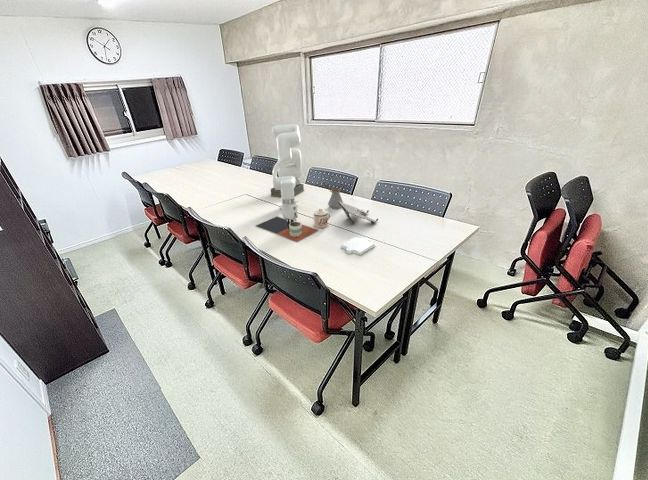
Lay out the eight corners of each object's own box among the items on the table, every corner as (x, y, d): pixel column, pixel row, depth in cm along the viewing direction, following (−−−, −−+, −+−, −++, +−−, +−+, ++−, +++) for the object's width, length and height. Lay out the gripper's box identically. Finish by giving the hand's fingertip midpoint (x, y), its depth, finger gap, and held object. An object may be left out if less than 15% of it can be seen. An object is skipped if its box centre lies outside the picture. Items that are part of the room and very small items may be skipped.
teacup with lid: (319, 229, 181) (318, 212, 175) (311, 225, 188) (310, 208, 182) (334, 224, 186) (334, 207, 180) (325, 220, 193) (325, 204, 187)
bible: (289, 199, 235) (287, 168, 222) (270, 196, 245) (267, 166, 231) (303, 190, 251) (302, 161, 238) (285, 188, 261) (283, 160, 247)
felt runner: (276, 216, 205) (276, 216, 204) (318, 230, 181) (318, 230, 180) (255, 226, 193) (255, 225, 193) (296, 241, 169) (296, 241, 169)
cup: (297, 230, 182) (297, 220, 179) (304, 234, 176) (304, 224, 173) (287, 233, 179) (286, 223, 176) (293, 237, 173) (292, 228, 170)
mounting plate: (357, 257, 149) (357, 254, 148) (338, 249, 158) (338, 246, 157) (377, 244, 159) (377, 241, 158) (358, 238, 168) (358, 235, 167)
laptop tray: (373, 233, 184) (380, 221, 180) (343, 223, 177) (350, 209, 173) (360, 220, 203) (366, 208, 199) (333, 210, 196) (339, 197, 192)
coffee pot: (346, 207, 210) (347, 187, 202) (334, 211, 206) (334, 191, 198) (329, 200, 226) (329, 181, 218) (317, 203, 222) (317, 184, 214)
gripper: (301, 201, 171) (303, 228, 181) (284, 196, 180) (286, 223, 190) (293, 204, 167) (294, 233, 176) (275, 200, 176) (278, 227, 186)
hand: (290, 228), depth 183 cm, fingers closed
